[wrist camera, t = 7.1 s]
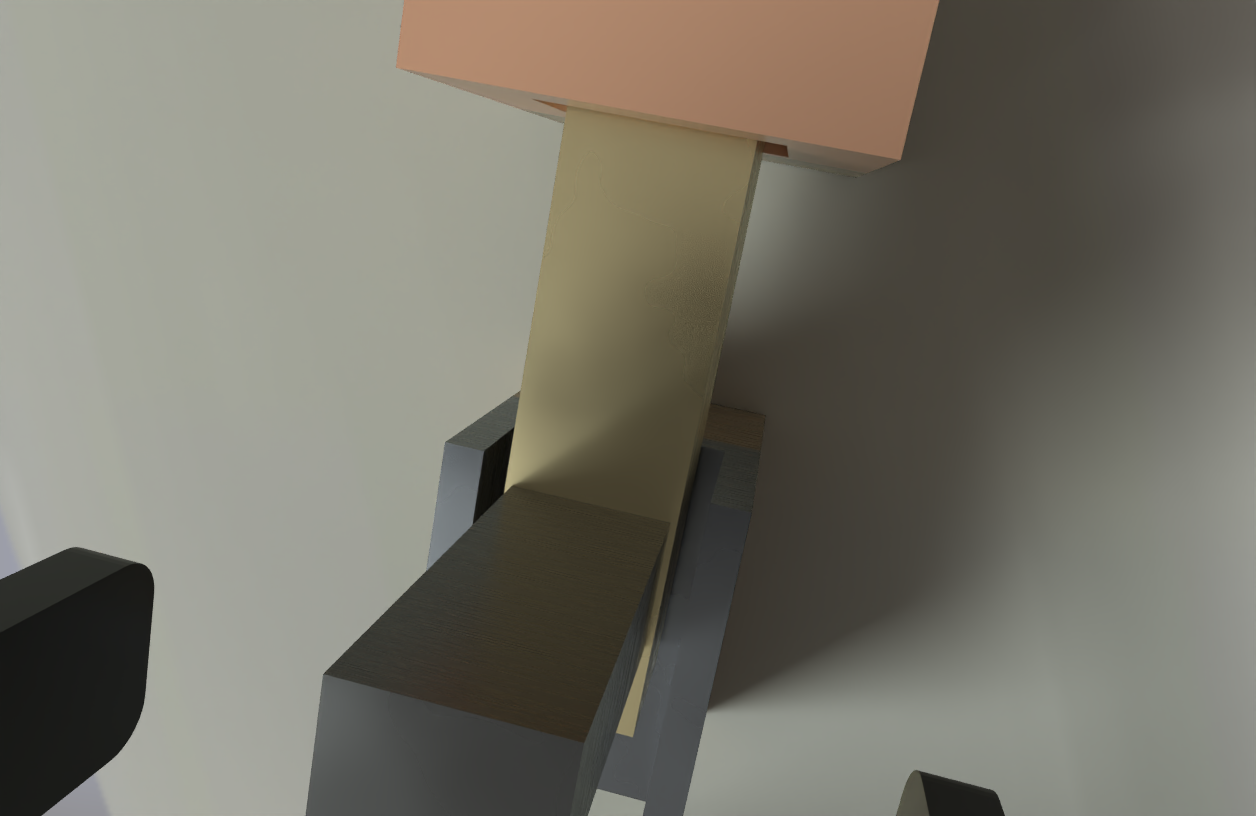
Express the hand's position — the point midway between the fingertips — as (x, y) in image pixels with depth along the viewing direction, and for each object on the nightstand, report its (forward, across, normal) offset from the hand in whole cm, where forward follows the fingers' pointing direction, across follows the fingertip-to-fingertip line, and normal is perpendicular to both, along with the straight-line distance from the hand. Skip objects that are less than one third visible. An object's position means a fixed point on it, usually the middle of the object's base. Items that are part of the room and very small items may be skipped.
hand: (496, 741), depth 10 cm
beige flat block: (+7, 0, -4) cm, 8 cm away
